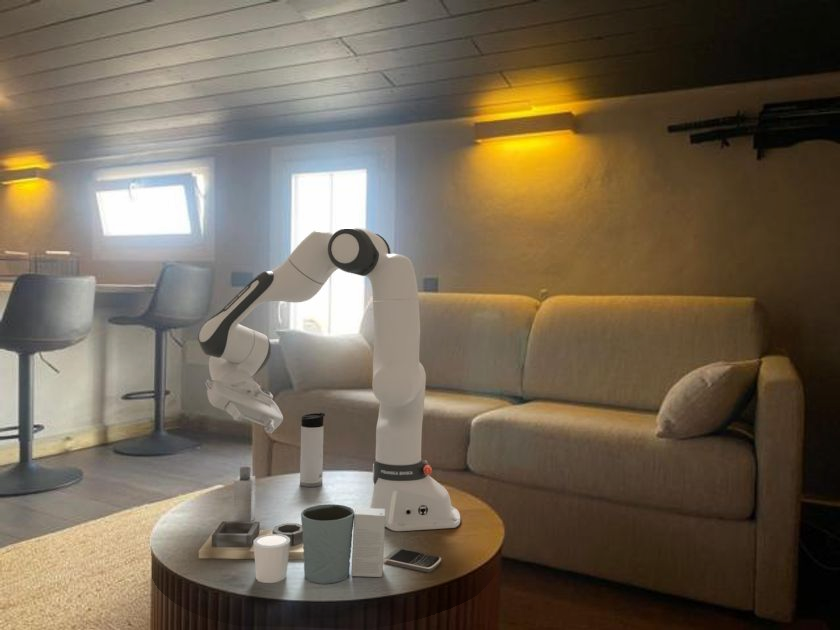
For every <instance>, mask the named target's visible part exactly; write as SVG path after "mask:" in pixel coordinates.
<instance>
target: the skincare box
mask: <svg viewBox="0 0 840 630" xmlns="http://www.w3.org/2000/svg"><path fill="white" fill-rule="evenodd" d="M385 528H386V527H385V509H373V508H370V507H355V510H354V522H353V530H352V550H351V554H352V555H351V556H352V557H351V570H350V571H351V573H350V574H351V577H368V578H369V577H370V578H371V577H372V578H374V577H375V578H382V577H383V569H384V562H383V559H384V554H385V553H384V552H385V551H384V549H385V533H386V532H385V531H386V529H385Z"/></svg>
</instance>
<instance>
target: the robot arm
mask: <svg viewBox="0 0 840 630" xmlns="http://www.w3.org/2000/svg"><path fill="white" fill-rule="evenodd" d="M338 269H339V270H341V271H343V272H345V273H349V274H354V275H357V276H361V277H365V276H366V277H367V278H368V280H369V281H370V284H371V290H372V291H371V292H372V311H373V312H372V313H373V327H374V329H373V330H374V340H373V341H374V343H373V358H372V382H371V383H372V384H371V386H372V387H371V388H372V392H373V394H374V397H375V398H376V399H377V401H378V402H379V409H378V417H377V423H376V429H375V458H374V459H373V464H372V481H373V488H372V489H373V491H372V496H371V501H370V507H369V508H373V509H385V528H387V529H389V530H391V531H393V532H407V531H410V532H411V531H422V530H423V531H424V530H426V531H427V530H437V529H439V530H442V529H454V528H457V527H458V526H459V525H460V524H461V514H460V512H459V510H458V509H457V508H456V507H454V506H452V501H451V497H450V493H449V492H448V490H447V489H446V488H445V486H443V485H441V483H439V482H438V481H437V480H435V479H434V478H433V477H431V476H430V475H431V474H432V473H433V469H432V466H431V465H430V463H429V462H428V461H427V460H426V459H423V458H422V437H423V436H422V435H423V433H422V432H423V431H422V430H423V420H424V419H423V418H424V411H425V410H424V409H425V396H426V381H427V375H426V374H427V373H426V371H425V368H424V365H423V364H422V363H421V362H420V343H421V342H420V338H421V319H420V318H421V317H420V301H419V288H418V281H417V276H416V273H415V272H416V271H415V269H414V265H413V262H412V260H411V259H410V258H408V256H406V255H403V254H399V253H391V248H390V245H389V243H388V242H387V240H386V239H385V238H384V237H382V236H381V235H380V234H378V233H375V232H373V231H371V230H369V229H366V228H359V227H356V226H347V227H343V228H341V229H339V230H337V231H336V232H334V234H333V233H332V232H330V231H328V230H325V229H316V230H314V231H311V233H309V234H308V235H307V236H306V237H305V238H304V239H303V240H302V241H301V242H300V243H299V244H298V245H297V246H296V247H295V249H294V250H293V251H292V252H291V253H290V255H289V256H288V257H287V258H286V260H285V261H283V263H282V264H280V265H278V266H277V267H275V268H273V269H271V270H267V271H262V272H261V273H259V274H258V275H256V276H255V277H254V278H253V279H251V281H250V282H249V283H247V284H246V286H245V287H243V288H242V289H241V290H240V291H239V292H238V293H237V294H236V296H234V297H233V298H232V299H231V300H230V301H229V302H228V303H227V304H226V305H225V306H224V307H223V308H222V309H220V311H219V312H217V313H215V314H214V315H213V316H212V317H210V318H209V319H208V320H206V322H205V323H203V325H202V326H201V328H200V330H199V332H198V335H197V340H198V343H199V345H200V348H201V350H202V352H203V353H204V354H205V355H206V356H209V359H208V369H209V375H210V378H211V379H206V380H205V382H204V383H205V386H206V388H207V391H206V396H207V398H208V402H209V403H210V405H211V406H213V408H214V407H215V408H216V409H217V408H218V409H219V410H223V411H225V412H227V413H228V415H230V416H231V417H232V419H233V421H236V422H239V423H240V422H241V421H242V420H243V419H246V420H248V421H251V422H253V423H256V424H259V425H261V426H263V427H264V428H263V430H264V431H265V433H267V434H270V435H271V434H273V433H274V431H275V430H277V428H278V427H279V426H280V425H281V424H282V422H283V420H284V416H283V414H282V412H281V410H280V408H279V406H278V404H277V403H276V402H275V401H274V400H273V398H274V395H273V394H272V392H270V391H268V390H267V389H265V388H264V387H263V386H261V385H260V384H258V383H257V382H256V381H255V380H254V379H253V378H252V377H254V376H256V375H257V374H258V373H259V372H260V371H262V369H264V367H265V366H266V364H268V361H270V358H271V355H272V354H271V349H272V348H271V342H270V341H271V340H270V338H269V337H268V336H267V335H266V334H264V333H261V332H259V331H257V330H254V329H252V328H249V327H247V326H244V325H242V324H240V323H242V321H243V320H244V319H245V318H246V317H247V316H248V315H249V314H250V313H251V312H252V311H253V310H254V309H256V307H258V306H259V305H261V304H264V303H269V302H270V303H271V302H284V303H285V302H286V303H303V302H306V301H310V300H311V299H312V298H314V297H315V296H316V295H317V293H319V292H320V290H321V289H322V288H323V286H324V285H325V284H326V283H327V281H328V280H329V278H330V277H331V276H332V274H334V272H336V270H338Z"/></svg>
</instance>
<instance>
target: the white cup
mask: <svg viewBox="0 0 840 630" xmlns="http://www.w3.org/2000/svg"><path fill="white" fill-rule="evenodd" d="M289 547H290V538H289V537H288V536H285V535H282V534H267V535H263V536H260V537H257V538H256V539H255V540H254V556H255V559H254V566H255V578H256V580H257V581H258V582H259V583H265V584H272V583H274V584H275V583H278V582H282V581H283V580H285V579H286V577H287V571H288V562H289V559H288V556H289Z"/></svg>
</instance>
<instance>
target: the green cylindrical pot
mask: <svg viewBox="0 0 840 630" xmlns="http://www.w3.org/2000/svg"><path fill="white" fill-rule="evenodd" d="M354 513H355V510H354V509H353V508H352V507H349V506H346V505H342V504H336V503H335V504H334V503H331V504H330V503H329V504H328V503H327V504H318V505H313V506H309V507H307V508H304V509H303V510H302V511H301V513H300V519H301V525H302V530H303V534H302V535H303V545H304V546H303V549H304V552H303V554H304V559H303V562H304V563H303V570H304V576H305V579H306V580H308V581H309V582H311V583H314V584H322V585H323V584H325V585H326V584H334V583H338V582H341V581H344V580H345V579H347V578H348V577H349V574H350V568H351V567H350V565H351V562H350V561H351V558H352V557H351V556H352V555H351V554H352V543H353V531H354Z"/></svg>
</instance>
